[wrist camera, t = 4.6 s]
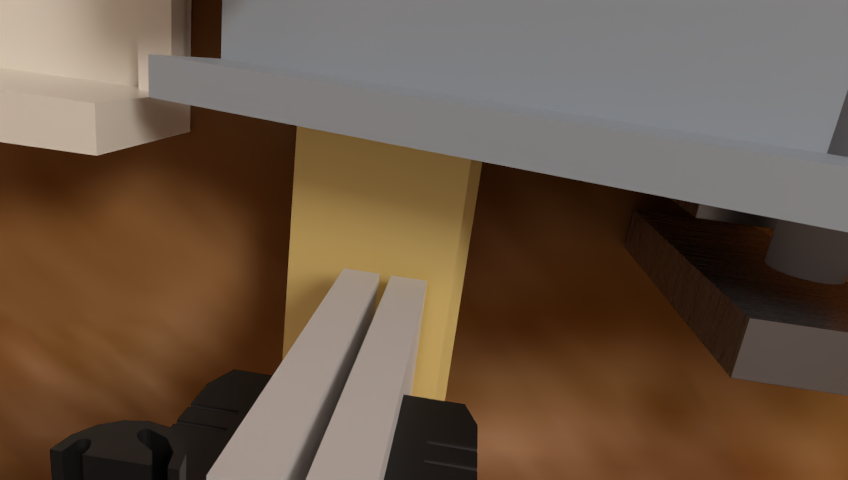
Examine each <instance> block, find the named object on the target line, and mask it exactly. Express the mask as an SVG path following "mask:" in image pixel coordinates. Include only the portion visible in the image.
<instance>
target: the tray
mask: <svg viewBox="0 0 848 480" xmlns="http://www.w3.org/2000/svg"><path fill="white" fill-rule="evenodd" d="M148 54H153V55H169V56H185V57H191V0H0V142H3V143H10V144H17V145H24V146H32V147H39V148H46V149H53V150H60V151H67V152H74V153H81V154H88V155H95V156H98V155H102V154H106V153H110V152H113V151H117V150H121V149H125V148H129V147H133V146H137V145H141V144H144V143H148V142H152V141H156V140H160V139H164V138H168V137H172V136H176V135H179V134H183V133H187V132H190V105H187V104H182V103H176V102H171V101H166V100H161V99H156V98H151V97H149V82H148Z"/></svg>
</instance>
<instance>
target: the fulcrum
mask: <svg viewBox="0 0 848 480" xmlns="http://www.w3.org/2000/svg"><path fill="white" fill-rule="evenodd" d="M669 199H670V200H672V201H673V202H674V203H676V204H677V205H679V206H680V207H682V208H683V209H684V210H686V211H687V212H689V213H690V214H691V215H693V216H694V217H696V218H702V219H696V218H689V217H682V216H675V215H668V214H661V213H654V212H646V211H639V210H633V214H632V218H631V222H630V227H629V231H628V235H627V239H626V243H625V248H626V249H627V251H628V252H629V253H630V254H631V256H632V257H633V258H634V259H635V260H636V262H637V263H638V264H639V265H640V267H641V268H642V269H643V270H644V272H645V273H646V274H647V275H648V276H649V278H650V279H651V280H652V281H653V283H654V284H655V285H656V286H657V288H658V289H659V290H660V291H661V292H662V294H663V295H664V296H665V297H666V299H667V300H668V301H669V302H670V304H671V305H672V306H673V307H674V308H675V310H676V311H677V312H678V313H679V315H680V316H681V317H682V318H683V320H684V321H685V322H686V323H687V325H688V326H689V327H690V328H691V329H692V331H693V332H694V333H695V334H696V336H697V337H698V338H699V339H700V341H701V342H702V343H703V344H704V345H705V347H706V348H707V349H708V350H709V352H710V353H711V354H712V355H713V357H714V358H715V359H716V360H717V361H718V363H719V364H720V365H721V366H722V368H723V369H724V370H725V371H726V373H727V374H728V375H729V376H730V378H735V379H741V380H748V381H755V382H761V383H768V384H775V385H781V386H788V387H795V388H801V389H808V390H814V391H821V392H828V393H834V394H841V395H848V283H847V282H845V283H844V284H825V283H818V282H813V281H809V280H804V279H801V278H797V277H794V276H791V275H788V274H785V273H782V272H780V271H777V270H775V269H773V268H771V267H770V266H768V265H767V264H766V263H765V258H766V255H767V252H768V249H769V245H770V242H771V239H772V237H770V236H768V235H767V234H765V233H763V232H762V231H760V230H758V229H757V228H755V227H753V226H759V227H766V228H773V229H775V226H776V223H777V220H778V219H776V218H771V217H766V216H760V215H755V214H750V213H745V212H740V211H735V210H729V209H724V208H719V207H714V206H709V205H704V204H698V203H693V202H688V201H683V200H678V199H673V198H669ZM703 219H709V220H703ZM710 220H716V221H710ZM717 221H723V222H717ZM724 222H731V223H724ZM732 223H738V224H732ZM739 224H745V225H739ZM746 225H752V226H746Z"/></svg>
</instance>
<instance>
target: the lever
mask: <svg viewBox="0 0 848 480" xmlns="http://www.w3.org/2000/svg"><path fill="white" fill-rule="evenodd" d="M148 82H149V97H151V98H156V99H161V100H166V101H171V102H176V103H182V104H187V105H192V106H197V107H202V108H207V109H213V110H218V111H223V112H228V113H233V114H239V115H244V116H249V117H254V118H259V119H264V120H270V121H275V122H280V123H285V124H290V125H295V126H297V132H296V148H295V165H294V181H293V197H292V213H291V229H290V245H289V261H288V277H287V293H286V310H285V326H284V342H283V358H282V361H283V359H284V358H285V356H286V355H287V353H288V352H289V350H290V349H291V347H292V346H293V344H294V343H295V341H296V340H297V338H298V337H299V335H300V334H301V332H302V331H303V329H304V328H305V326H306V325H307V323H308V322H309V320H310V319H311V317H312V316H313V314H314V313H315V311H316V310H317V308H318V307H319V305H320V304H321V302H322V301H323V299H324V298H325V296H326V295H327V293H328V292H329V290H330V289H331V287H332V286H333V284H334V283H335V281H336V280H337V278H338V277H339V275H340V274H341V272H342V271H343V269H344V268H346V269H352V270H359V271H366V272H372V273H379V274H380V275H379V284H378V293H377V302H376V311H377V308H378V306H379V303H380V301H381V299H382V296H383V294H384V292H385V289H386V287H387V284H388V282H389V280H390V277H391V275H392V276H399V277H405V278H412V279H419V280H425V281H427V286H426V293H425V300H424V308H423V315H422V322H421V330H420V337H419V344H418V352H417V359H416V366H415V374H414V381H413V388H412V395H411V396H416V397H422V398H428V399H435V400H441V401H445V396H446V390H447V384H448V377H449V371H450V365H451V358H452V352H453V346H454V339H455V333H456V327H457V320H458V314H459V308H460V301H461V295H462V288H463V282H464V276H465V269H466V263H467V257H468V250H469V244H470V238H471V231H472V225H473V219H474V212H475V206H476V200H477V193H478V187H479V181H480V174H481V168H482V162H487V163H492V164H497V165H502V166H507V167H512V168H518V169H523V170H528V171H533V172H538V173H543V174H549V175H554V176H559V177H564V178H569V179H574V180H580V181H585V182H590V183H595V184H600V185H605V186H611V187H616V188H621V189H626V190H631V191H636V192H642V193H647V194H652V195H657V196H662V197H667V198H673V199H678V200H683V201H688V202H693V203H698V204H704V205H709V206H714V207H719V208H724V209H729V210H735V211H740V212H745V213H750V214H755V215H760V216H766V217H771V218H776V219H778V220H777V223H776V226H775V230H774V233H773V236H772V239H771V242H770V245H769V249H768V252H767V255H766V258H765V263H766V264H767V265H768V266H770V267H771V268H773V269H775V270H777V271H780V272H782V273H785V274H788V275H791V276H794V277H797V278H801V279H804V280H809V281H813V282H818V283H825V284H844V283H845V282H846V279H847V277H848V0H222V35H221V59H218V58H202V57H185V56H169V55H153V54H148ZM376 311H375V313H376Z"/></svg>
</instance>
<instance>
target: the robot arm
mask: <svg viewBox="0 0 848 480" xmlns="http://www.w3.org/2000/svg"><path fill="white" fill-rule="evenodd" d="M379 275H380V274H379V273H372V272H366V271H359V270H352V269H346V268H344V269H343V271H342V272H341V274H340V275H339V277H338V278H337V280H336V281H335V283H334V284H333V286H332V287H331V289H330V290H329V292H328V293H327V295H326V296H325V298H324V299H323V301H322V302H321V304H320V305H319V307H318V308H317V310H316V311H315V313H314V314H313V316H312V317H311V319H310V320H309V322H308V323H307V325H306V326H305V328H304V329H303V331H302V332H301V334H300V335H299V337H298V338H297V340H296V341H295V343H294V344H293V346H292V347H291V349H290V350H289V352H288V353H287V355H286V356H285V358H284V359H283V361H282V362H281V364H280V365H279V367H278V368H277V370H276V371H275V373H274V374H273V376H271V375H265V374H259V373H253V372H246V371H240V370H232V371H230V372H228V373H227V374H225V375H223V376H221V377H219V378H217V379H216V380H214V381H212V382H210V383H208V384H207V385H206V386H205V388H204V389H203V390H202V391H201V392H200V394H199V395H198V396H197V397H196V398H195V399H194V401H193V402H192V403H191V407H188V408H187V409H186V410H185V411H184V412H183V414H182V415H181V416H180V417H179V418H178V419H177V423H176V424H173V425H172V426H171V428H169V427H166V426H163V425H160V424H156V423H153V422H150V421H127V420H123V421H118V422H112V423H106V424H100V425H96V426H93V427H91V428H88V429H85V430H83V431H80V432H78V433H75V434H73V435H70V436H69V437H67V438H66V439H65V440H63V441H62V442H60V443H59V444H57V445H56V446H54V447H53V448H51V449H50V459H51V473H52V480H477V424H476V422H475V420H474V419H473V417H472V415H471V414H470V412H469V411H468V409H467V407H466V406H465V404H460V403H453V402H447V401H441V400H435V399H428V398H422V397H416V396H411V395H412V388H413V381H414V374H415V366H416V359H417V352H418V344H419V337H420V330H421V322H422V315H423V308H424V300H425V293H426V286H427V281H425V280H419V279H412V278H405V277H399V276H392V275H391V277H390V280H389V282H388V284H387V287H386V289H385V292H384V294H383V296H382V299H381V301H380V303H379V306H378V308H377V311H376V302H377V293H378V284H379ZM375 311H376V313H375Z"/></svg>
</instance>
